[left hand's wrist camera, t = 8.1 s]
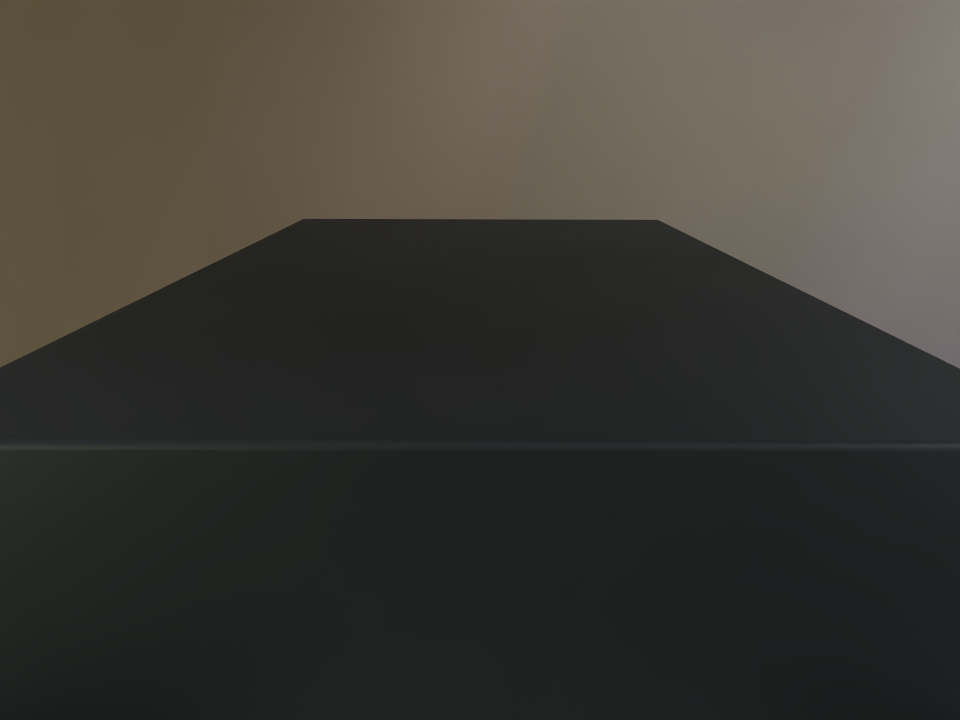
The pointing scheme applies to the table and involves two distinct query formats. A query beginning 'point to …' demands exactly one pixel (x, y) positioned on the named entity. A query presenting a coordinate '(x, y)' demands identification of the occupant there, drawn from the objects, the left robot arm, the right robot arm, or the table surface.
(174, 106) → the table surface
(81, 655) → the box
